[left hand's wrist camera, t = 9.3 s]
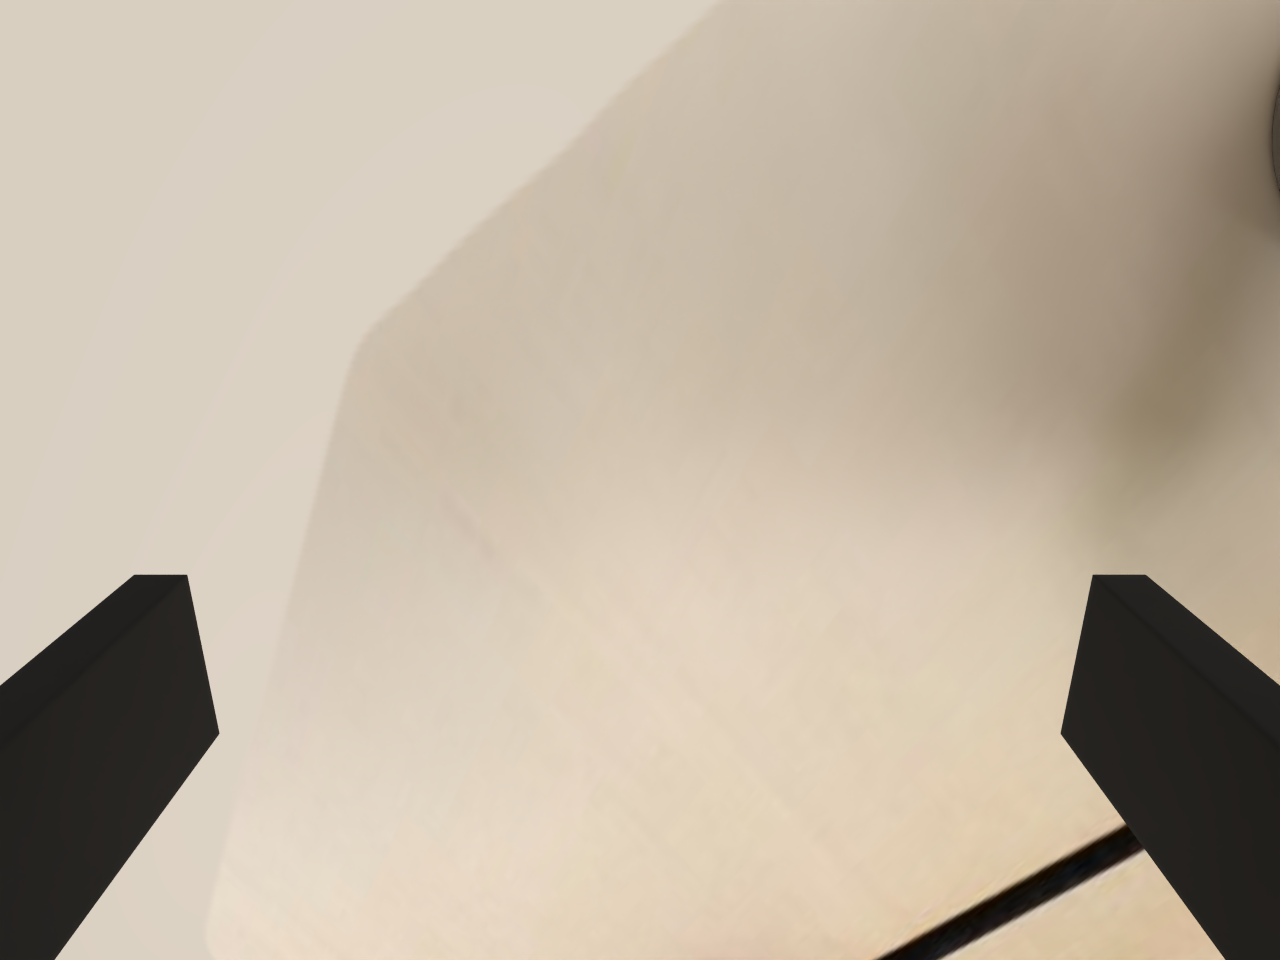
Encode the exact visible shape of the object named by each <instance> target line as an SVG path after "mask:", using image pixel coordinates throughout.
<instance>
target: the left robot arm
mask: <svg viewBox="0 0 1280 960" xmlns="http://www.w3.org/2000/svg"><path fill="white" fill-rule="evenodd" d="M1272 147H1273V161H1274V169H1275V174H1276V179H1277V183H1278V187H1279V190H1280V88H1279V92H1278V96H1277V100H1276V106H1275V112H1274V119H1273V133H1272ZM218 735H219V729H218V724H217V719H216V714H215V709H214V705H213V700H212V695H211V690H210V685H209V680H208V675H207V670H206V665H205V660H204V655H203V651H202V645H201V640H200V636H199V631H198V626H197V621H196V616H195V611H194V606H193V601H192V596H191V591H190V586H189V581H188V576H187V575H133V576H132V577H131V578H130V579H129V580H127V581H126V582H125V583H124V584H123V585H121V586H120V587H119V588H118V589H117V590H115V591H114V592H113V593H112V594H110V595H109V596H108V597H107V598H106V599H104V600H103V601H102V602H101V603H100V604H98V605H97V606H96V607H95V608H94V609H92V610H91V611H90V612H89V613H87V614H86V615H85V616H84V617H83V618H82V619H80V620H79V621H78V622H77V623H75V624H74V625H73V626H72V627H71V628H69V629H68V630H67V631H66V632H65V633H63V634H62V635H61V636H60V637H58V638H57V639H56V640H55V641H54V642H52V643H51V644H50V645H49V646H48V647H46V648H45V649H44V650H43V651H42V652H40V653H39V654H38V655H37V656H35V657H34V658H33V659H32V660H31V661H29V662H28V663H27V664H26V665H25V666H23V667H22V668H21V669H20V670H19V671H17V672H16V673H15V674H14V675H13V676H11V677H10V678H9V679H8V680H6V681H5V682H4V683H3V684H2V685H0V960H55V958H56V957H57V956H58V954H59V953H60V952H61V950H62V949H63V947H64V946H65V945H66V943H67V942H68V941H69V939H70V938H71V936H72V935H73V934H74V932H75V931H76V930H77V928H78V927H79V925H80V924H81V923H82V921H83V920H84V919H85V917H86V916H87V914H88V913H89V912H90V910H91V909H92V908H93V906H94V905H95V903H96V902H97V901H98V899H99V898H100V897H101V895H102V894H103V893H104V891H105V890H106V888H107V887H108V886H109V884H110V883H111V882H112V880H113V879H114V877H115V876H116V875H117V873H118V872H119V871H120V869H121V868H122V867H123V865H124V864H125V862H126V861H127V860H128V858H129V857H130V856H131V854H132V853H133V851H134V850H135V849H136V847H137V846H138V845H139V843H140V842H141V840H142V839H143V838H144V836H145V835H146V834H147V832H148V831H149V829H150V828H151V827H152V825H153V824H154V823H155V821H156V820H157V819H158V817H159V816H160V814H161V813H162V812H163V810H164V809H165V808H166V806H167V805H168V803H169V802H170V801H171V799H172V798H173V796H174V795H175V794H176V792H177V791H178V790H179V788H180V787H181V786H182V784H183V783H184V781H185V780H186V779H187V777H188V776H189V775H190V773H191V772H192V770H193V769H194V768H195V766H196V765H197V764H198V762H199V761H200V759H201V758H202V757H203V755H204V754H205V753H206V751H207V750H208V749H209V747H210V746H211V744H212V743H213V742H214V740H215V739H216V738H217V736H218ZM1061 735H1062V736H1063V738H1064V739H1065V740H1066V742H1067V743H1068V744H1069V746H1070V747H1071V749H1072V750H1073V751H1074V753H1075V754H1076V755H1077V757H1078V758H1079V760H1080V761H1081V762H1082V764H1083V765H1084V766H1085V768H1086V769H1087V771H1088V772H1089V773H1090V775H1091V776H1092V777H1093V779H1094V780H1095V781H1096V783H1097V784H1098V786H1099V787H1100V788H1101V790H1102V791H1103V792H1104V794H1105V795H1106V797H1107V798H1108V799H1109V801H1110V802H1111V803H1112V805H1113V806H1114V808H1115V809H1116V810H1117V812H1118V813H1119V814H1120V816H1121V817H1122V819H1123V820H1124V821H1125V823H1126V824H1127V825H1128V827H1129V828H1130V829H1131V831H1132V832H1133V834H1134V835H1135V836H1136V838H1137V839H1138V840H1139V842H1140V843H1141V845H1142V846H1143V847H1144V849H1145V850H1146V851H1147V853H1148V854H1149V856H1150V857H1151V858H1152V860H1153V861H1154V862H1155V864H1156V865H1157V867H1158V868H1159V869H1160V871H1161V872H1162V873H1163V875H1164V876H1165V877H1166V879H1167V880H1168V882H1169V883H1170V884H1171V886H1172V887H1173V888H1174V890H1175V891H1176V893H1177V894H1178V895H1179V897H1180V898H1181V899H1182V901H1183V902H1184V904H1185V905H1186V906H1187V908H1188V909H1189V910H1190V912H1191V913H1192V915H1193V916H1194V917H1195V919H1196V920H1197V921H1198V923H1199V924H1200V925H1201V927H1202V928H1203V930H1204V931H1205V932H1206V934H1207V935H1208V936H1209V938H1210V939H1211V941H1212V942H1213V943H1214V945H1215V946H1216V947H1217V949H1218V950H1219V952H1220V953H1221V954H1222V956H1223V957H1224V958H1225V960H1280V685H1278V684H1277V683H1276V682H1275V681H1274V680H1272V679H1271V678H1270V677H1269V676H1267V675H1266V674H1265V673H1264V672H1263V671H1261V670H1260V669H1259V668H1258V667H1257V666H1255V665H1254V664H1253V663H1252V662H1251V661H1249V660H1248V659H1247V658H1246V657H1245V656H1243V655H1242V654H1241V653H1240V652H1238V651H1237V650H1236V649H1235V648H1234V647H1232V646H1231V645H1230V644H1229V643H1228V642H1226V641H1225V640H1224V639H1223V638H1222V637H1220V636H1219V635H1218V634H1217V633H1215V632H1214V631H1213V630H1212V629H1211V628H1209V627H1208V626H1207V625H1206V624H1205V623H1203V622H1202V621H1201V620H1200V619H1199V618H1197V617H1196V616H1195V615H1194V614H1193V613H1191V612H1190V611H1189V610H1188V609H1186V608H1185V607H1184V606H1183V605H1182V604H1180V603H1179V602H1178V601H1177V600H1176V599H1174V598H1173V597H1172V596H1171V595H1170V594H1168V593H1167V592H1166V591H1165V590H1163V589H1162V588H1161V587H1160V586H1159V585H1157V584H1156V583H1155V582H1154V581H1153V580H1151V579H1150V578H1149V577H1148V576H1147V575H1093V576H1092V581H1091V586H1090V591H1089V596H1088V601H1087V606H1086V611H1085V616H1084V621H1083V626H1082V631H1081V636H1080V640H1079V645H1078V650H1077V655H1076V660H1075V665H1074V670H1073V675H1072V680H1071V685H1070V690H1069V695H1068V700H1067V705H1066V709H1065V714H1064V719H1063V724H1062V729H1061Z"/></svg>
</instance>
